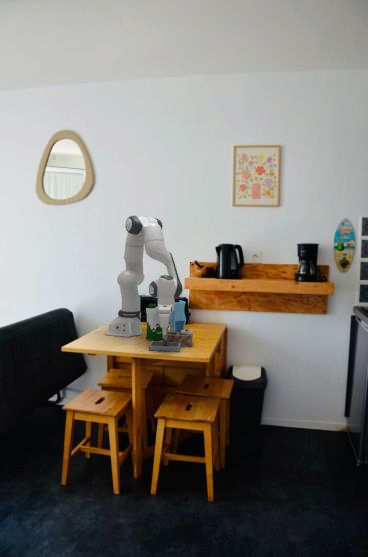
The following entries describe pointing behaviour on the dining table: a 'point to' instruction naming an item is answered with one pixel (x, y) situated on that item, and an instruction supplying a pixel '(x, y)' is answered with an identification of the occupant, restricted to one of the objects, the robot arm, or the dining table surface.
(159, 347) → the tray
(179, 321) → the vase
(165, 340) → the lock pin
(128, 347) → the dining table surface
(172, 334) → the tensioner block
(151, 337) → the milk carton
